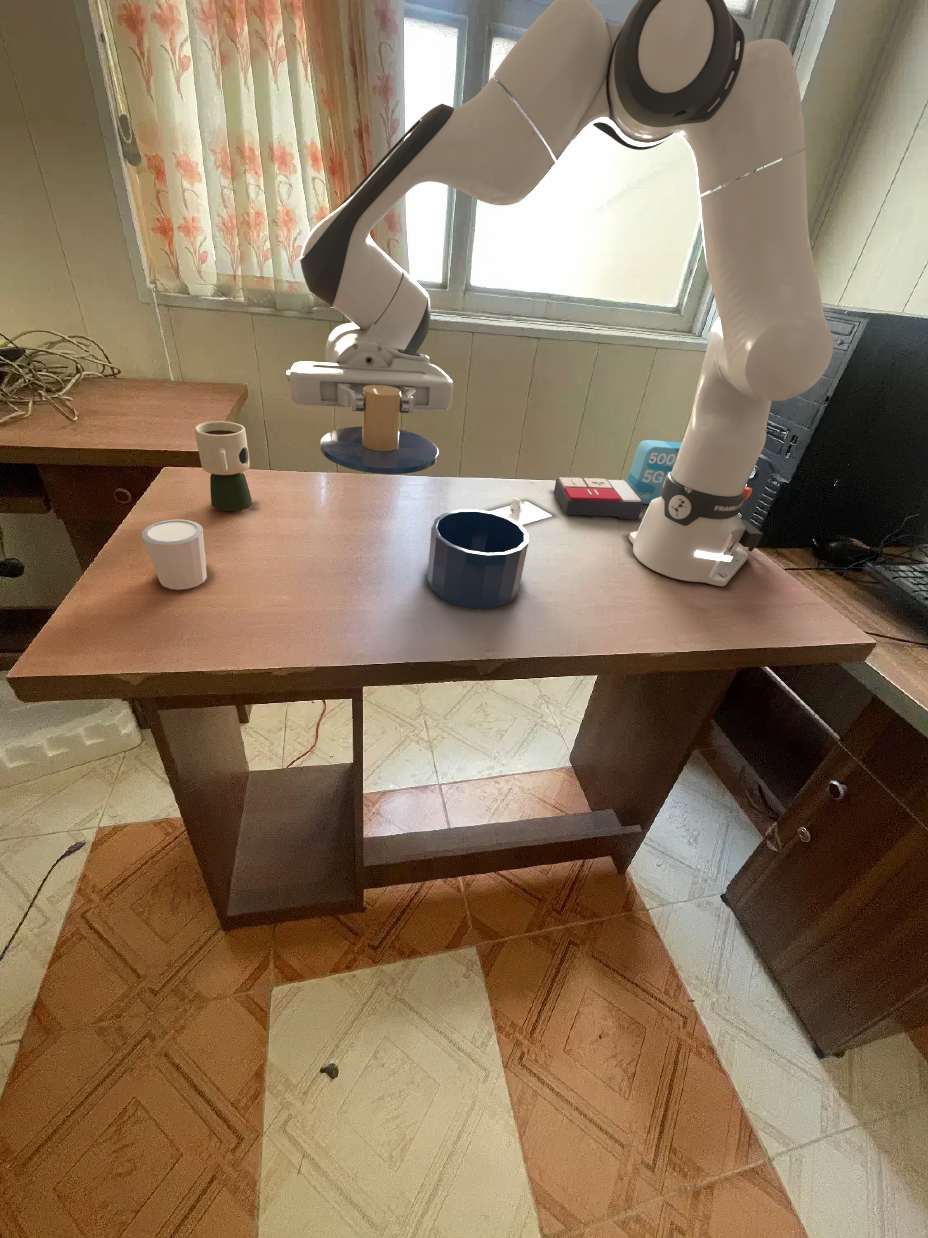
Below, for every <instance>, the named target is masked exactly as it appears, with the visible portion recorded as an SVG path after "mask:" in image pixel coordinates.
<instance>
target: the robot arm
mask: <svg viewBox="0 0 928 1238" xmlns="http://www.w3.org/2000/svg"><path fill="white" fill-rule="evenodd" d="M738 43H739V46H738V47H737V45H738ZM591 125H593V126H594V127H595V128H596V129H598V130H599V131H601V132H603V133H604V134H605V135H607V136H609V138H611V139H612V140H614V141H615V142H617V143H618V144H620V145H621V146H623V147H625V148H627V149H631V150H636V151H645V150H650V149H652V148H655V147H657V146H660V145H661V144H663V143H665V142H666V141H667V140H668V139H670V138H671V137H672V136H673V135H675V134H676V135H677V136H678V137H680V138H682V139H683V140H684V142H685V143H686V144H687V146H688V148H689V150H690V152H691V154H692V159H693V162H694V164H695V170H696V184H697V185H696V186H697V195H698V205H699V213H700V214H699V215H700V222H701V223H700V224H701V231H702V241H703V249H704V257H705V265H706V271H707V274H708V277H709V280H710V284H711V288H712V292H713V295H714V300H715V304H716V309H717V313H718V317H717V319H716V320H714V323H713V325H712V327H711V329H710V331H709V334H708V338H707V345H706V351H705V354H704V359H703V362H702V366H701V370H700V373H699V378H698V382H697V386H696V391H695V395H694V400H693V404H692V410H691V413H690V418H689V421H688V424H687V427H686V430H685V433H684V436H683V439H682V441H681V443H682V444H681V447H680V450H679V453H678V455H677V458H676V461H675V464H674V466H673V469H672V471H671V472H669V473H668V475H667V478H666V479H665V481H664V483H663V488H662V491H661V496H660V497H658V498H655V499H653V500H652V501H651V502H650V504H648V507H647V509H646V511H645V513H644V516H643V518H642V519H641V522H640V525H639V527H638V529H637V530H635V531H632V532H630V534H629V536H628V540H629V541H630V543H631V544H632V552H633V555H634V556H635V558H636V559H637V560H638V561H639V562H640V563H642V564H643V565H644V566H646V567H647V568H649V569H650V570H652V571H654V572H656V573H659V574H661V575H663V576H666V577H669V578H672V579H675V580H679V581H684V582H693V583H705V584H709V585H712V586H716V587H725V586H726V585H727V584H728V583H729V581H730V580H731V579H733V577H734V576H735V575H736V573H737V572H738V571H739V570H740V569H741V568H742V566H743V565H744V564H745V563H746V561H747V560H748V557H749V553H748V552H753V550H754V549H755V548H757V547H758V545H759V543H760V541H761V539H762V538H763V536H764V534H763V532H761V531H760V529H758V528H757V527H755V526H754V525H752V524H751V522H749V521H748V520H746V519H741V516H740V512H741V509H742V506H743V504H744V501H746V500H748V499H749V498H750V497H751V495H752V492H753V488H751V487H748V486H747V484H748V482H749V479H750V477H751V476H752V473H753V471H754V469H755V467H756V464H757V463H758V460H759V458H760V456H761V454H762V451H763V449H764V447H765V444H766V441H767V427H768V421H769V415H770V411H771V407H772V404H773V403H772V402H781V401H787V400H791V399H793V398H796V397H798V396H801V395H802V394H804V393H805V392H807V391H809V390H810V389H811V388H812V387H813V386H815V385H816V383H818V382H819V380H820V379H821V378H822V377H823V376H824V374H825V373H826V371H827V369H828V367H829V366H830V363H831V360H832V357H833V353H834V338H833V334H832V331H831V329H830V327H829V325H828V322H827V320H826V317H825V312H824V308H823V301H822V295H821V290H820V284H819V279H818V274H817V269H816V265H815V264H816V263H815V260H814V256H813V251H812V245H811V239H810V232H809V231H810V230H809V221H808V193H807V165H806V164H807V163H806V161H807V160H806V149H805V148H806V140H805V139H806V138H805V124H804V111H803V105H802V97H801V92H800V85H799V80H798V75H797V70H796V66H795V62H794V57H793V54H792V51H791V49H790V48H789V46H788V45H787V44H786V43H785V42H783V41H781V39H776V38H759V39H756V40H752V41H749V42H747V43H746V36H745V32H744V30H743V28H742V27H741V26H740V25H739V23H738V22H737V20H736V19H735V17H734V16H733V15H732V14H731V12H730V11H729V8H728V6H727V4H726V2H725V0H637V1H636V3H635V4H634V6H633V7H632V8H631V10H630V12H629V13H628V15H627V17H626V19H625V21H624V23H623V24H620V25H619V24H618V25H615V24H613V23H611V22H609V21H608V20H606V19H605V18H604V15H603V14H602V13H601V11H600V10H599V8H598V6H596V5H595V4H593V2H591V1H590V0H554V1H552V3H551V4H550V5H549V6H548V7H546V9H545V10H544V11H543V12H542V13H541V14H539V16H538V17H537V18H536V20H534V21H533V23H531V25H530V26H529V27H528V28H527V30H525V32H524V33H523V34H522V36H520V38H519V39H518V40H517V41H516V42H515V44H514V45H513V47H512V48H511V49H510V50H509V52H508V53H507V54H506V55H505V57H504V59H503V60H502V61H501V63H500V64H499V66H498V67H497V69H496V70H495V72H494V73H493V75H492V77H491V78H490V79H489V80H488V82H487V83H486V84H485V86H484V87H483V88H482V89H481V90H480V91H479V92H478V93H477V94H476V95H474V96H473V97H472V98H471V99H469V100H468V101H466V102H464V103H462V104H460V105H457V106H455V107H454V106H450V105H448V104H445V103H440V104H438V105H436V106H433V108H431V109H430V110H428V111H427V112H426V113H425V114H423V115H422V116H421V117H420V118H419V119H418V120H417V121H416V122H415V123H414V124H413V125H412V126H411V127H410V128H409V129H408V130H407V131H406V132H405V133H404V134H403V135H402V136H401V137H400V138H399V140H398V141H397V142H395V144H394V145H393V146H392V147H391V148H390V149H389V151H387V152H386V153H385V154H384V156H383V157H382V158H381V159H380V160H379V161H378V162H377V164H376V165H375V166H374V167H373V168H372V169H371V170H370V172H368V174H367V175H366V176H365V177H364V178H363V179H362V181H360V183H359V184H357V186H356V187H355V188H354V189H353V190H352V192H351V193H350V194H349V195H348V196H347V197H346V198H345V199H344V200H343V201H342V202H341V204H339V206H338V207H336V209H335V210H333V211H332V213H330V214H328V216H326V217H325V218H323V219H322V220H321V221H320V222H318V223H317V224H316V226H315V227H313V229H312V230H311V231H310V233H309V234H308V235H307V238H306V239H305V241H304V244H303V246H302V249H301V254H300V255H299V264H300V268H301V272H302V275H303V278H304V281H305V284H306V286H307V289H308V291H309V292H310V293H311V294H312V295H314V296H316V297H317V298H318V299H320V300H322V301H323V302H325V303H326V304H327V305H329V306H330V307H333V308H335V310H337V311H338V312H339V313H341V314H342V315H343V316H344V317H345V318H347V319H348V321H350V322H347V323H343V324H340V325H338V326H336V327H335V328H334V329H333V330H331V332H330V334H329V335H328V338H327V340H326V343H325V348H324V361H325V362H324V361H323V362H322V361H297V362H294V363H293V365H292V366H291V368H290V369H288V370H286V371H285V379H286V381H287V382H288V383H290V384H289V385H290V397H291V401H292V403H293V404H296V405H299V406H312V407H313V406H317V407H337V408H338V407H340V408H349V409H350V411H351V412H362V413H363V411H364V405H363V404H364V395H363V387H365V386H368V385H385V386H391V387H394V388H397V389H399V390H400V391H401V407H400V414H413V412H414V410H416V411H417V410H418V411H420V410H421V411H438V412H439V411H440V412H442V411H443V412H446V411H448V410H450V409H451V407H452V403H453V395H454V382H453V380H452V378H450V376H449V375H448V374H447V373H446V372H445V371H444V370H443V369H441V368H440V367H438V366H437V365H435V364H432V363H430V357H429V356H428V355H427V354H425V353H421V352H418V351H419V349H420V348H421V346H422V345H423V343H424V342H425V339H426V338H427V336H428V333H429V330H430V327H431V317H432V316H431V315H432V309H431V305H432V304H431V299H430V295H429V293H428V291H426V290H425V289H424V288H423V287H422V286H421V284H419V283H418V282H417V280H416V279H414V278H413V277H412V276H411V275H410V274H409V273H408V272H407V271H406V270H405V269H403V268H402V267H401V266H399V265H398V264H397V263H396V261H394V260H393V258H391V257H390V255H388V254H387V253H386V252H385V251H384V250H383V249H382V248H381V247H379V245H378V244H377V243H376V242H375V241H374V240H373V238H372V237H371V231H372V230H373V229H374V228H375V227H376V226H377V224H379V223H380V222H381V221H382V220H383V218H384V217H385V216H386V215H387V214H388V213H389V212H390V211H391V210H392V208H394V207H395V206H396V205H397V204H398V203H399V202H400V200H401V199H402V198H403V197H404V196H405V195H406V194H407V193H408V192H409V191H410V190H411V189H413V188H415V186H417V185H419V184H422V183H426V182H432V183H433V182H434V183H439V184H443V185H445V186H446V185H447V186H448V187H450V188H453V189H455V190H458V191H460V192H461V193H463V194H465V195H468V196H469V197H471V198H474V199H475V200H477V201H479V202H483V203H485V204H489V205H493V206H511V205H514V204H518V203H520V202H522V201H524V200H525V199H526V198H527V197H529V196H530V195H531V194H532V193H533V192H534V191H536V189H537V188H538V187H539V186H540V185H541V184H542V183H543V182H544V181H545V179H546V178H547V176H548V175H549V174H550V173H551V172H552V170H553V169H554V168H555V166H556V164H558V162H559V161H560V160H561V158H562V157H563V156H564V155H565V153H566V152H567V150H568V149H569V148H570V147H571V146H572V144H573V143H574V142H575V141H576V139H577V138H578V137H579V136H580V135H581V134H582V133H583V132H584V131H585V130H586V129H587V128H589V126H591ZM794 153H795V154H794ZM789 155H790V156H789ZM787 156H788V157H787ZM713 189H714V190H713ZM739 544H740V545H741V546H742V547H743V548H747V551H748V552H747V551H746V550H744V549H743V548H742V547H740V546H739Z"/></svg>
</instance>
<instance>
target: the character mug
mask: <svg viewBox="0 0 928 1238" xmlns="http://www.w3.org/2000/svg"><path fill="white" fill-rule="evenodd" d="M194 434H195V438H196V439H195V440H196V444H197V445H196V446H197V449H198V455H199V460H200V465H201V468H202V470H203V471H204V472H206V473H208V474H210V477H209V482H210V485H209V486H210V504H211V507H212V508H214V509H216V510H220V511H231V512H233V511H239V512H241V511H244V510H248V509H249V508H250V507H252V506H253V503H252V495H251V492H250V488H249V484H248V482H247V478H246V475H245V474H244V472H245V471H247V470H249V469H250V464H251V463H250V462H251V461H250V453H249V447H248V439H247V433H246V428H245V426H243V425H242V424H239V423H236V422H232V421H221V420H217V421H208V422H202V423H199V424H197V425H195V427H194Z"/></svg>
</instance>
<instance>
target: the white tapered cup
mask: <svg viewBox="0 0 928 1238" xmlns="http://www.w3.org/2000/svg"><path fill="white" fill-rule="evenodd" d="M141 538H142V541H143V543H144V546H145V549H146V550H147V553H148V556H149V558H150V560H151V563H152V565H153V568H154V571H155V573H156V575H157V579H158V581H159V584H161V586H163V587H164V588H167V589H169V590H178V591H179V590H180V591H181V590H190V589H192V588H195V587H196V588H197V587H198V586H199V585H201V584H203V583H204V582H205V581H206V580H207V578H208V577H207V574H208V573H207V562H206V552H205V551H206V550H205V542H204V529H203V526H202V525H200V523H198V522H195V521H192V520H188V519H180V518H179V519H165V520H161V521H157V522H155V523H152V524H150V525H147V526H146V527H145V528H144V529H143V530H142V532H141Z"/></svg>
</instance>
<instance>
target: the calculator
mask: <svg viewBox="0 0 928 1238" xmlns="http://www.w3.org/2000/svg"><path fill="white" fill-rule="evenodd" d="M626 482H627V481H626V480H624V479H606V478H597V477H596V478H594V477H593V478H592V477H591V478H590V477H584V478H583V479H582V477H566V476H565V477H563V476H561V477H560V476H559V478H556V480H555V484H554V490H553V494H554V496H555V498H556V499H557V501H558V503H559V506H560V507H561V509H562V511H563V512H564V514H565V515H566V516H590V517H593V516H594V517H595V516H596V517H617V518H619V519H620V520H635V521H636V520H639V519H640V516H641V513H642V510H643V506H644V504H643V502H642V500H641V499H640V498H639V497H638V496H637V495H636V493H635V492H634V491H633V490H632V489H631V487H630V486H629V485H628V484H627V483H626Z"/></svg>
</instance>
